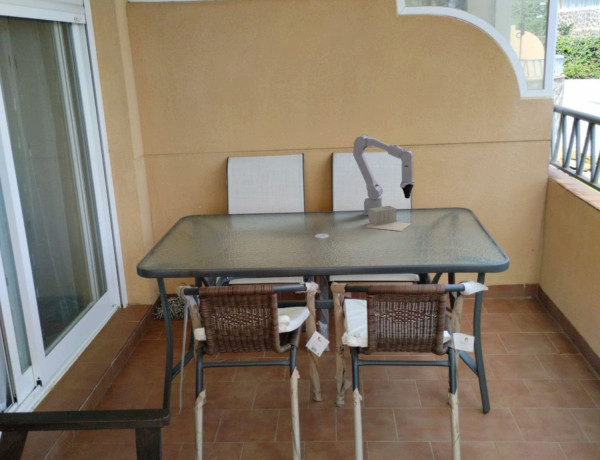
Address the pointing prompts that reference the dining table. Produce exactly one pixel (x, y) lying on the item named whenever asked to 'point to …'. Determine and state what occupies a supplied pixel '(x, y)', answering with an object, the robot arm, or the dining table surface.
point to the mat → (390, 226)
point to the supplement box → (382, 215)
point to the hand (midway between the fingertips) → (407, 198)
